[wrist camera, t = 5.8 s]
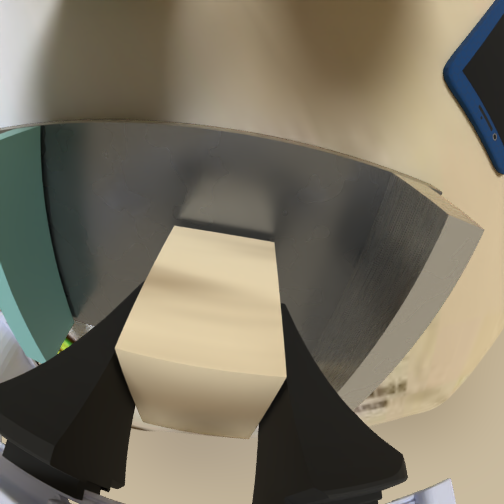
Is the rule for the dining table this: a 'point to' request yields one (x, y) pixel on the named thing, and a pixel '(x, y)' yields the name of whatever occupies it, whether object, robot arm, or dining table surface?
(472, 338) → the dining table surface
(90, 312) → the vise
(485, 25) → the cell phone
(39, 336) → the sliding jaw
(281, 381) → the birch block
